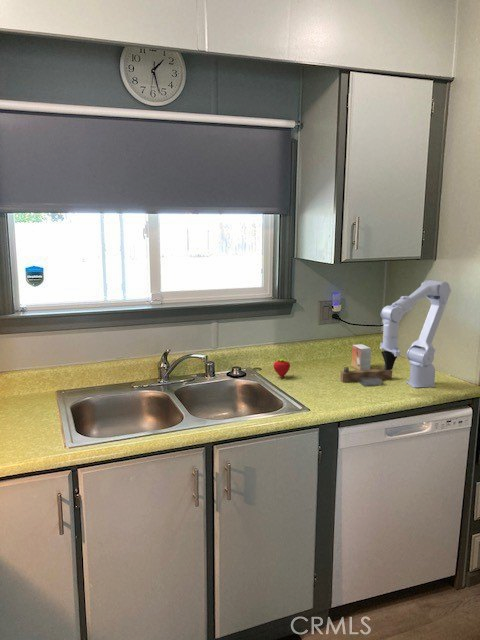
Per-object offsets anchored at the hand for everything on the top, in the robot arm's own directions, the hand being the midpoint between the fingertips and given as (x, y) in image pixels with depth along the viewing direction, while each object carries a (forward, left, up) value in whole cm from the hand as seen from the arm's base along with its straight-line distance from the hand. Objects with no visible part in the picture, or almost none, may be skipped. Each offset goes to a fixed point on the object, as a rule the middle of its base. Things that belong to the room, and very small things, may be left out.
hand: (389, 369), depth 213 cm
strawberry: (+38, -26, -10) cm, 47 cm away
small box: (-1, -33, -10) cm, 34 cm away
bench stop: (+3, -16, -9) cm, 19 cm away
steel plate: (+3, -11, -10) cm, 15 cm away
